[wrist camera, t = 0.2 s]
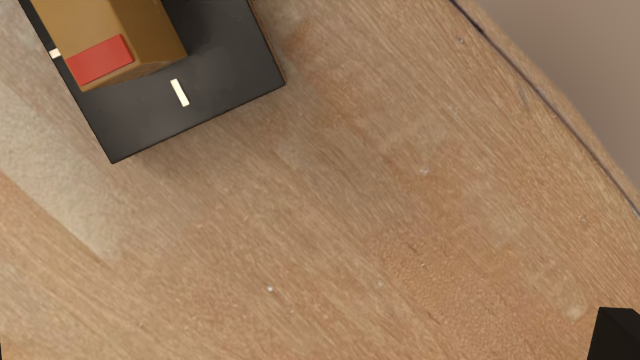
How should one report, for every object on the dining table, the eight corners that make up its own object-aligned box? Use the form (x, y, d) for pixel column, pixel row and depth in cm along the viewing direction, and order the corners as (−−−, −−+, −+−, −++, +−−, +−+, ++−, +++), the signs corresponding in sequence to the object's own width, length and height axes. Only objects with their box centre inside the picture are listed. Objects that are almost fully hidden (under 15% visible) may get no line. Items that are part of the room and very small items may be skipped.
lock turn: (88, -32, 25) (-11, -64, 17) (133, -55, 25) (54, -97, 17) (145, 76, 26) (78, 93, 19) (188, 56, 26) (139, 65, 18)
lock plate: (8, -56, 27) (-23, -66, 24) (184, -145, 26) (172, -164, 24) (126, 154, 30) (110, 166, 27) (287, 80, 29) (286, 85, 27)
